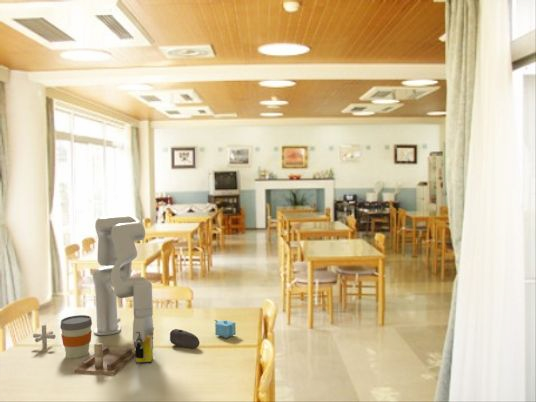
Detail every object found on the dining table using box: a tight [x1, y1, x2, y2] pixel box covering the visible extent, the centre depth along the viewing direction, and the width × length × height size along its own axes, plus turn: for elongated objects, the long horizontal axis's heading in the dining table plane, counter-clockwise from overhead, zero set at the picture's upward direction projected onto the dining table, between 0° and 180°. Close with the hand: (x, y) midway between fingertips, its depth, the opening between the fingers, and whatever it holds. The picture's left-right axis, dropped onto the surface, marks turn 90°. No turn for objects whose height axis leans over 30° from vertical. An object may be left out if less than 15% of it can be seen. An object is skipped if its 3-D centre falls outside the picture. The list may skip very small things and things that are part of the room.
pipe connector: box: [32, 324, 56, 349], centre depth 217 cm, size 10×10×10 cm
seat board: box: [74, 342, 136, 376], centre depth 198 cm, size 22×16×10 cm
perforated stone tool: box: [169, 328, 200, 349], centre depth 215 cm, size 15×5×7 cm, turn 59°
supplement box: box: [135, 334, 154, 365], centre depth 200 cm, size 6×6×11 cm
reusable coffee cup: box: [60, 314, 93, 359], centre depth 208 cm, size 13×13×15 cm
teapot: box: [214, 319, 236, 339], centre depth 229 cm, size 12×6×8 cm, turn 52°
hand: (144, 353), depth 200 cm, fingers open, 8 cm apart
